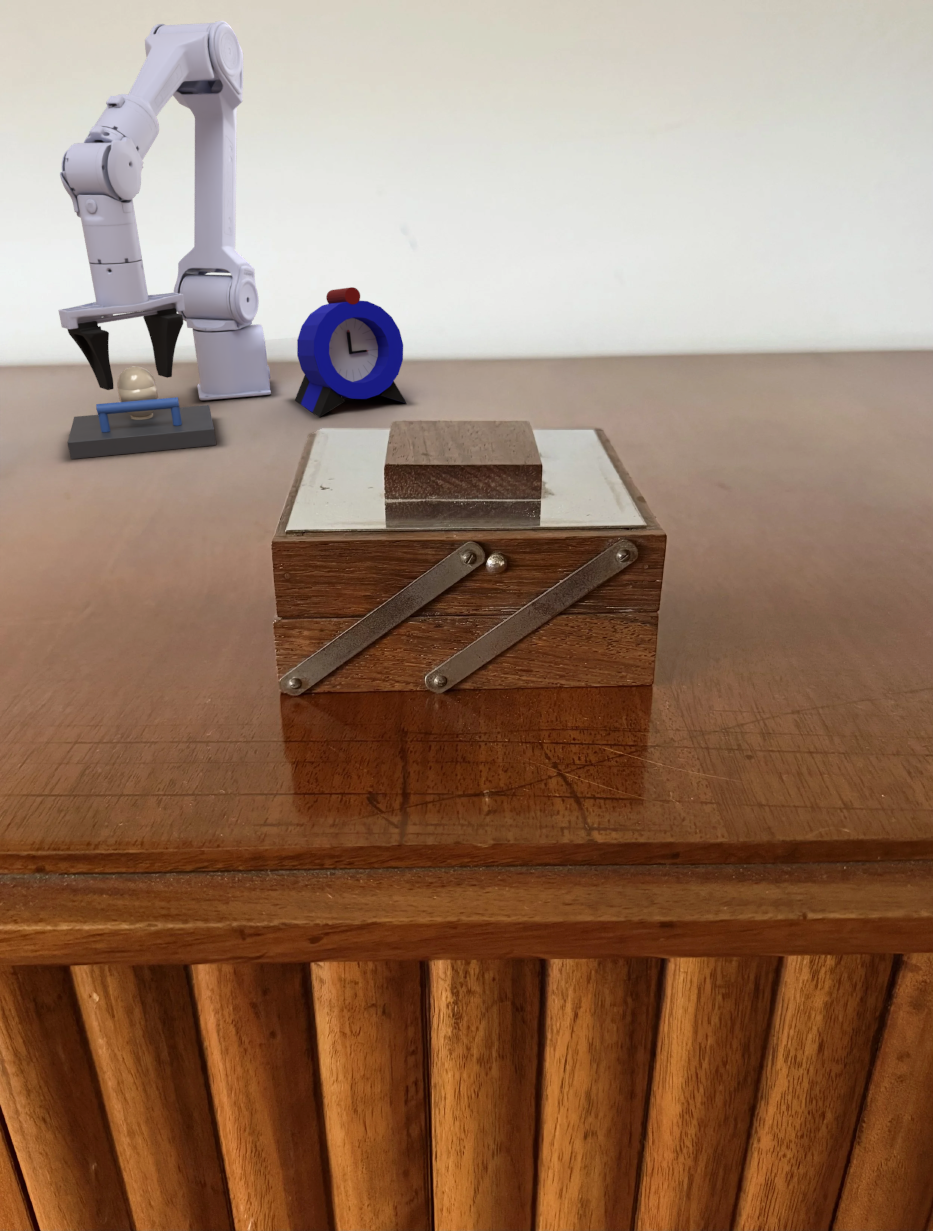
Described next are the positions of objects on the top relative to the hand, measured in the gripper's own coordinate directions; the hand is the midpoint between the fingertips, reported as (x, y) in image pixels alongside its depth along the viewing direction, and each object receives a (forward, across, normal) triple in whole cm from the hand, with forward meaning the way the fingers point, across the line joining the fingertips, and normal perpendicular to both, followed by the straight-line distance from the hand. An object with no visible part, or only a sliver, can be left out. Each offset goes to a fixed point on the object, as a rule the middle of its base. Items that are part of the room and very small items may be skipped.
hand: (136, 381), depth 117 cm
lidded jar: (+4, 0, 0) cm, 4 cm away
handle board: (+6, +1, +2) cm, 7 cm away
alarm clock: (+6, -26, +8) cm, 28 cm away
